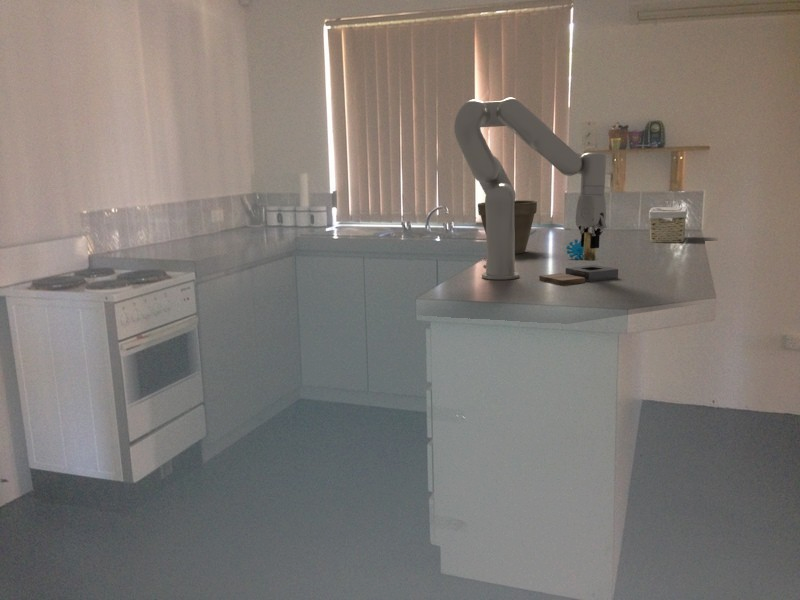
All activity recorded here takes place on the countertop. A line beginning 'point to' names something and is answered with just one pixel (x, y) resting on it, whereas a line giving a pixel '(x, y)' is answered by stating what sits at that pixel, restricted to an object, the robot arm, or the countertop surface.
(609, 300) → the countertop surface
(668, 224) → the storage basket
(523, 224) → the plant pot
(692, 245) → the countertop surface
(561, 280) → the board
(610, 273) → the grey square frame
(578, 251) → the gear
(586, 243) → the key peg
